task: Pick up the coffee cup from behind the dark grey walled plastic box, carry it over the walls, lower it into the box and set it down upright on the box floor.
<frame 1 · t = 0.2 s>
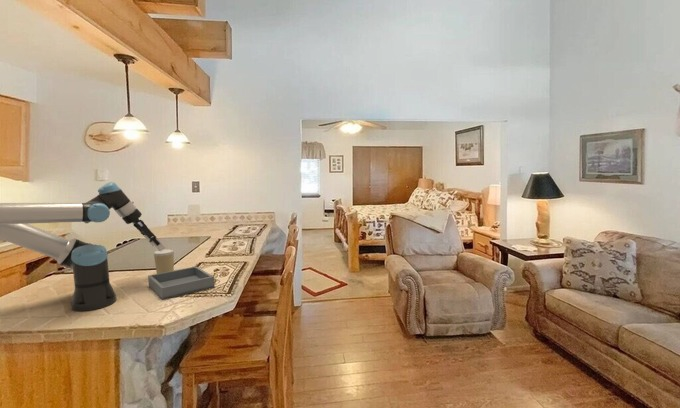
hand: (158, 247, 174), 16 cm above the countertop, tool tilted 30°, fingers open, 13 cm apart
coffee cup: (165, 274, 185), on the countertop
walled box: (181, 286, 166), on the countertop
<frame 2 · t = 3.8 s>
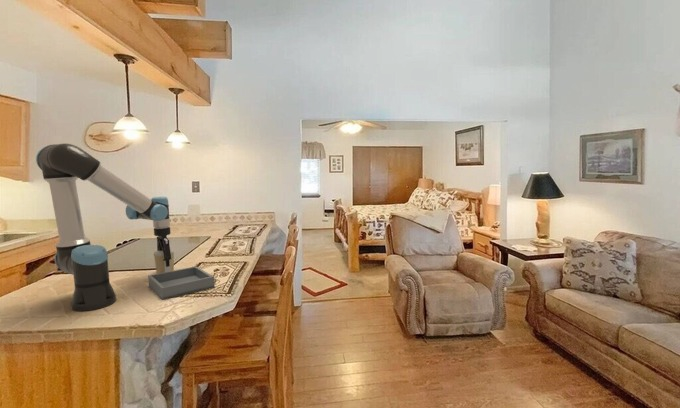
hand: (165, 270, 185), 2 cm above the countertop, tool pointing down, fingers closed on coffee cup, 9 cm apart
coffee cup: (165, 274, 185), on the countertop, touching gripper
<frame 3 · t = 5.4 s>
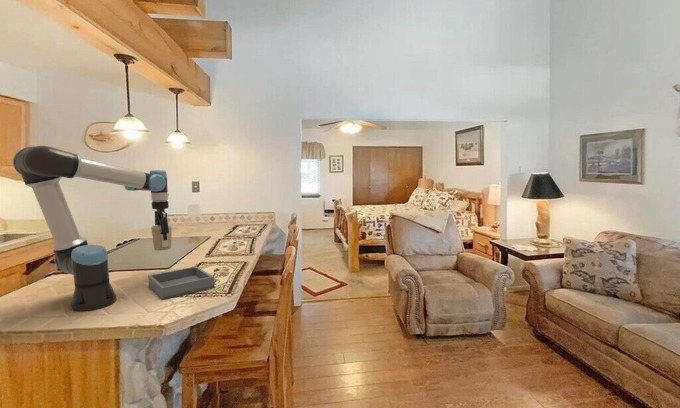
hand: (162, 245, 183), 15 cm above the countertop, tool pointing down, fingers closed on coffee cup, 9 cm apart
coffee cup: (162, 249, 183), point 13 cm above the countertop, touching gripper
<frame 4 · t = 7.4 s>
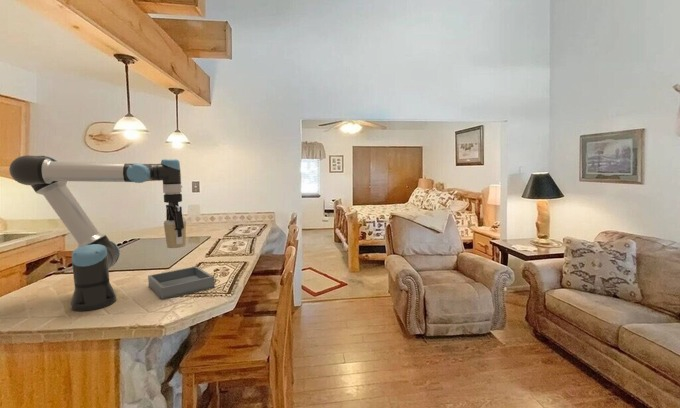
hand: (175, 242, 166), 20 cm above the countertop, tool pointing down, fingers closed on coffee cup, 9 cm apart
coffee cup: (176, 246, 166), point 18 cm above the countertop, touching gripper
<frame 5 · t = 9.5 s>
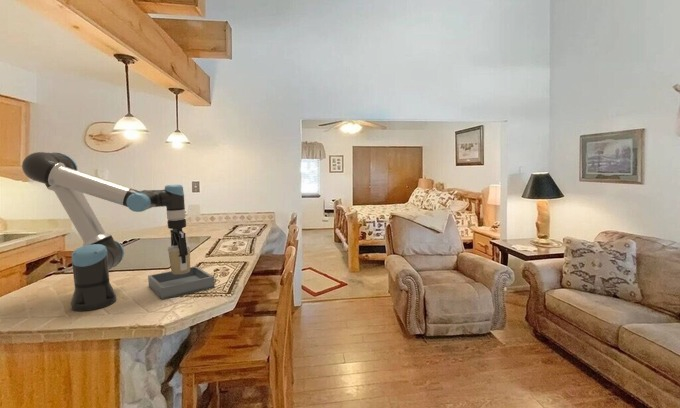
hand: (180, 267, 165), 9 cm above the countertop, tool pointing down, fingers closed on coffee cup, 9 cm apart
coffee cup: (181, 272, 165), point 7 cm above the countertop, touching gripper
when the fingers open (4 cm above the countertop, at t = 11.2 s): coffee cup stays where it is, resting on walled box.
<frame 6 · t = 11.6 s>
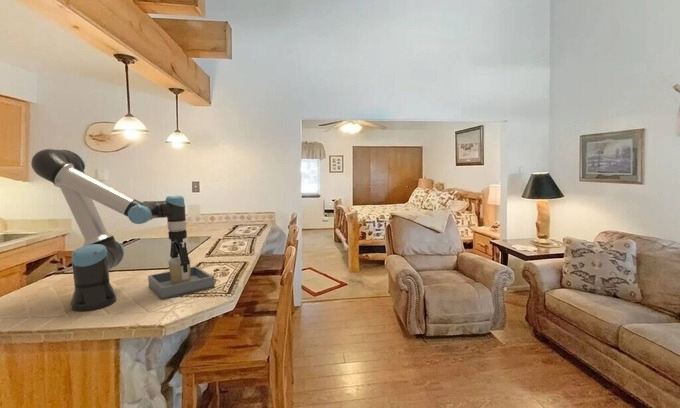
hand: (180, 275, 165), 5 cm above the countertop, tool pointing down, fingers open, 13 cm apart
coffee cup: (181, 284, 166), point 1 cm above the countertop, touching walled box
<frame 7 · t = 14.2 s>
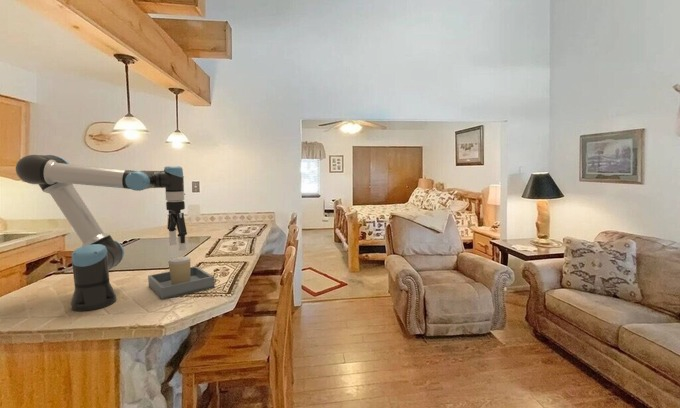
hand: (177, 247, 163), 18 cm above the countertop, tool pointing down, fingers open, 13 cm apart
nothing on the countertop moved.
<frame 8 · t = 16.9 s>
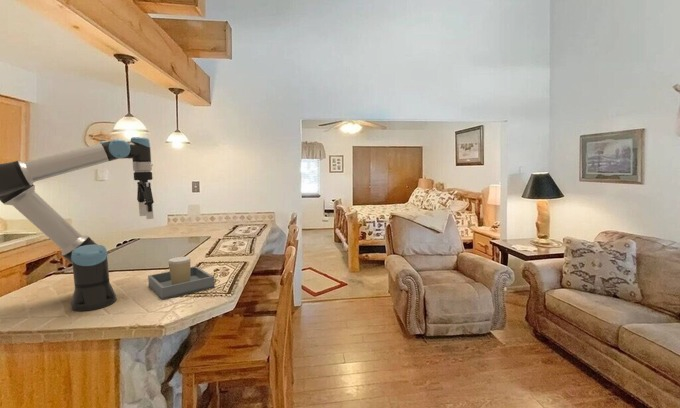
hand: (146, 217, 168), 32 cm above the countertop, tool pointing down, fingers open, 13 cm apart
nothing on the countertop moved.
at the end: coffee cup inside the target area on the walled box (0.1 cm from its centre), point 0.8 cm above the walled box's base; coffee cup tilted 0°; the gripper is holding nothing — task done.
